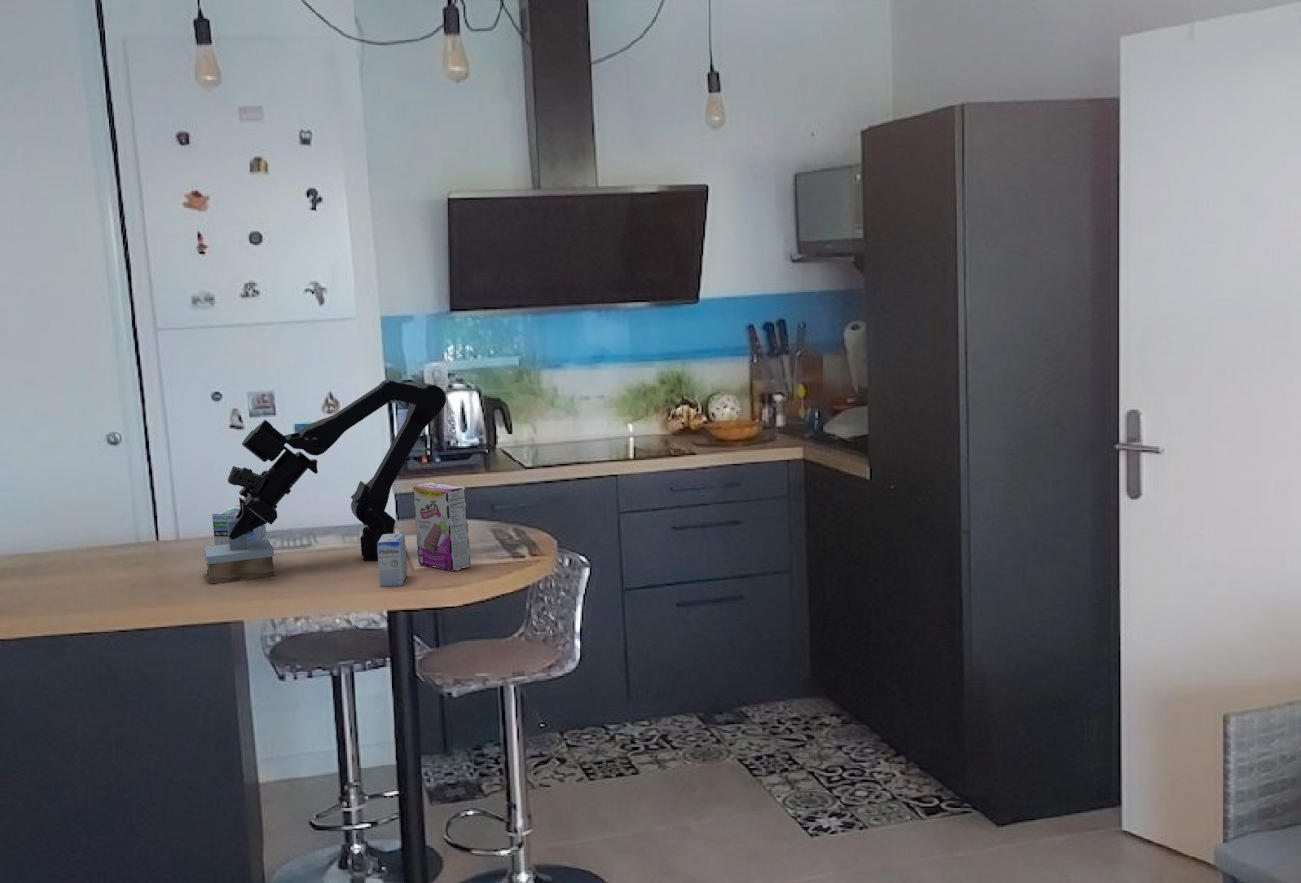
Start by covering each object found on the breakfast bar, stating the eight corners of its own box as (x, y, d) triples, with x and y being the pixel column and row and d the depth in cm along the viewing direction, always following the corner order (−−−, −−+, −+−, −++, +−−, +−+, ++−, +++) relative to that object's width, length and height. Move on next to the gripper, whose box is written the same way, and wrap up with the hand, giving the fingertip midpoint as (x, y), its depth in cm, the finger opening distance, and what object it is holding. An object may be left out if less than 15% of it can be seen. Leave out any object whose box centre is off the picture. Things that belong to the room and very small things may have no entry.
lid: (268, 546, 266) (265, 512, 265) (274, 556, 257) (270, 520, 256) (204, 554, 262) (201, 519, 261) (207, 564, 252) (204, 528, 251)
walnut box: (269, 565, 267) (268, 546, 266) (274, 575, 257) (273, 556, 257) (207, 573, 262) (205, 554, 262) (210, 584, 253) (208, 564, 252)
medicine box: (384, 577, 251) (381, 534, 250) (407, 576, 252) (404, 532, 251) (379, 587, 244) (376, 542, 243) (403, 585, 244) (400, 540, 243)
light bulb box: (244, 564, 269) (239, 513, 268) (215, 564, 271) (210, 514, 269) (269, 552, 280) (264, 504, 278) (240, 552, 281) (236, 504, 280)
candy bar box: (417, 565, 260) (411, 485, 258) (436, 560, 264) (430, 481, 262) (452, 572, 253) (446, 490, 251) (471, 567, 257) (466, 486, 254)
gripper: (246, 446, 266) (194, 504, 264) (254, 457, 249) (199, 519, 247) (288, 479, 270) (238, 537, 268) (299, 492, 253) (246, 554, 251)
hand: (229, 536), depth 258 cm, fingers closed on lid, 3 cm apart
